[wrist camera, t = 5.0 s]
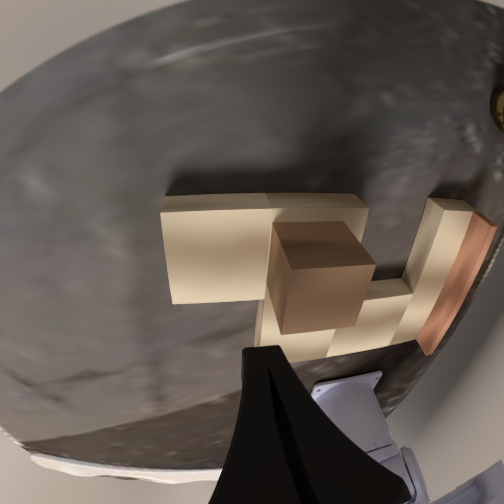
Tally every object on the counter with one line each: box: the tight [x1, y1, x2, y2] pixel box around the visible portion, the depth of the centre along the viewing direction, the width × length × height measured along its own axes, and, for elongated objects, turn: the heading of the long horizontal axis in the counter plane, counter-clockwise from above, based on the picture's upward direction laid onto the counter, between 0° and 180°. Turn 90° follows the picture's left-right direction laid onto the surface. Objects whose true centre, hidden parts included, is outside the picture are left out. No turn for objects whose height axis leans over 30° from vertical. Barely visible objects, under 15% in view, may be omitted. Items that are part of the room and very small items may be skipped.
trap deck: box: [160, 193, 497, 362], centre depth 20 cm, size 13×21×4 cm, turn 87°
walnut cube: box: [266, 221, 376, 335], centre depth 16 cm, size 4×4×4 cm
